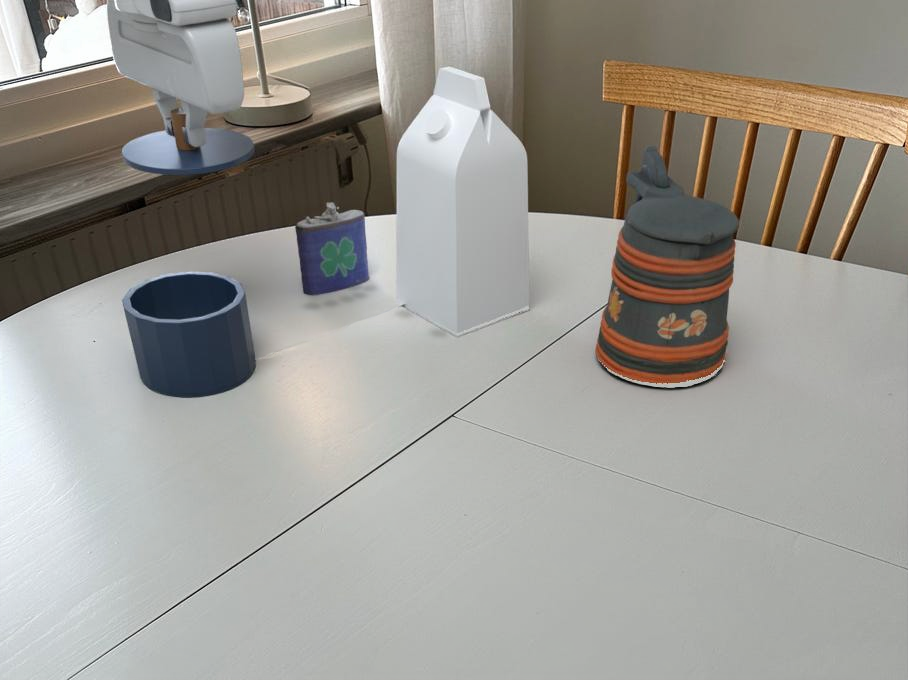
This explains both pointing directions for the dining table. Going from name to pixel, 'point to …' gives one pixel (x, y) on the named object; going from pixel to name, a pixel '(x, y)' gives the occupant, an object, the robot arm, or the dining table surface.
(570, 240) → the dining table surface
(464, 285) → the milk
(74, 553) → the dining table surface
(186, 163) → the pot lid
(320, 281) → the flask
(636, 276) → the beer stein
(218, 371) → the pot
